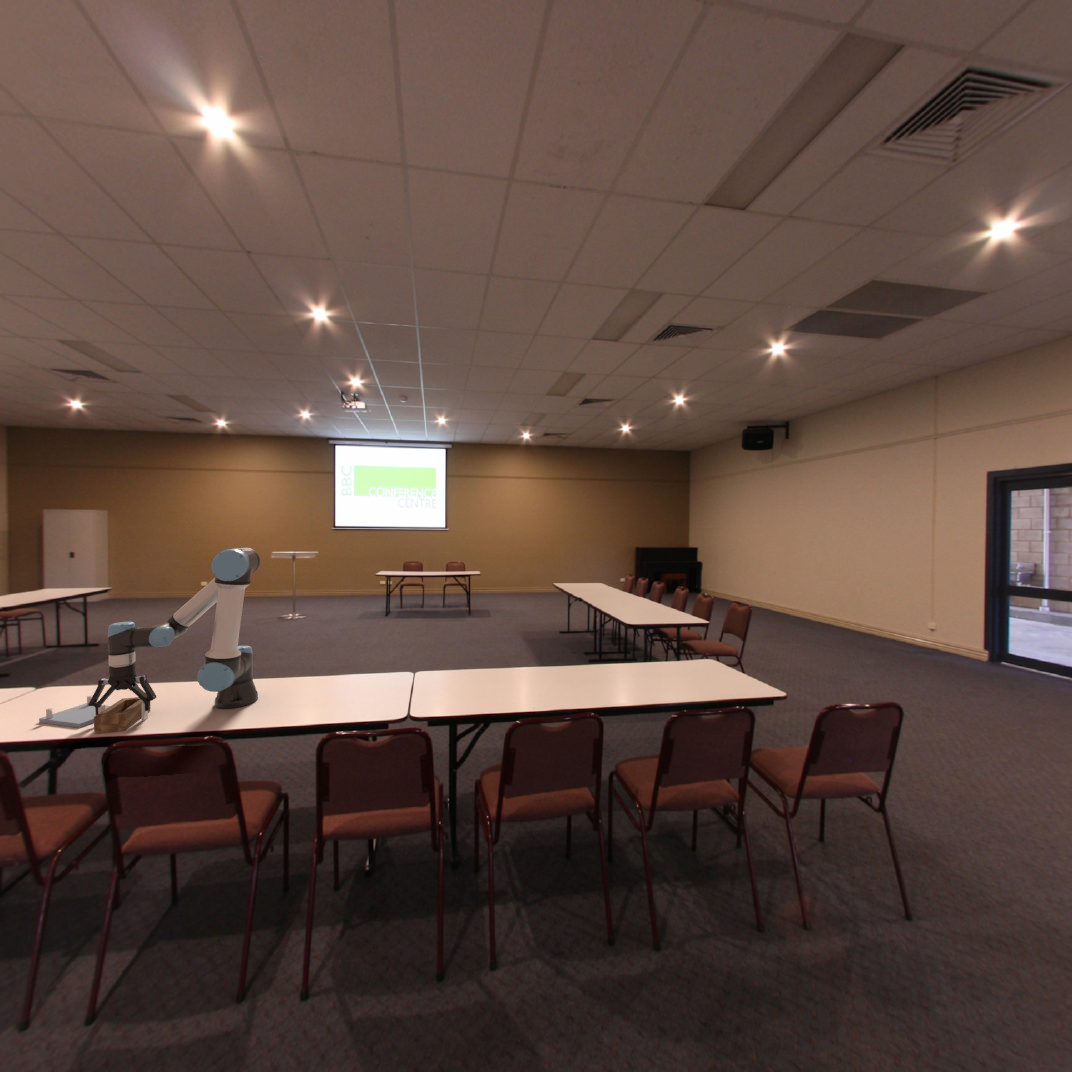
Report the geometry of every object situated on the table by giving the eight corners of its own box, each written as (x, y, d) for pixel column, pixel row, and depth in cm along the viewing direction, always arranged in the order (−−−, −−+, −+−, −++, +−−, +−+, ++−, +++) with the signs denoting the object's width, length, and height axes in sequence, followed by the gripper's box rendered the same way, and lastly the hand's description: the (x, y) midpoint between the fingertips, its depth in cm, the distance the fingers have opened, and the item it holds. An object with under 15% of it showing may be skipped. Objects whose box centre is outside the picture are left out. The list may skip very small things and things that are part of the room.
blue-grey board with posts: (124, 711, 183) (124, 698, 183) (79, 727, 169) (79, 714, 168) (86, 706, 188) (85, 694, 188) (39, 722, 173) (38, 709, 173)
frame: (150, 711, 184) (150, 696, 183) (125, 730, 166) (124, 714, 166) (122, 713, 181) (122, 698, 181) (94, 734, 164) (93, 717, 164)
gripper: (166, 658, 180) (167, 713, 181) (87, 664, 173) (89, 721, 174) (157, 664, 173) (158, 721, 174) (74, 670, 166) (76, 729, 166)
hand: (123, 721), depth 174 cm, fingers open, 12 cm apart
